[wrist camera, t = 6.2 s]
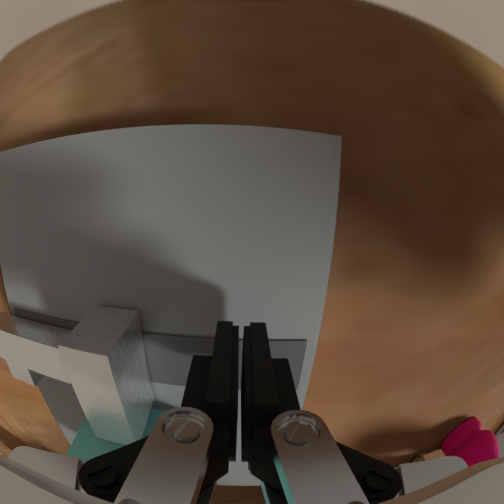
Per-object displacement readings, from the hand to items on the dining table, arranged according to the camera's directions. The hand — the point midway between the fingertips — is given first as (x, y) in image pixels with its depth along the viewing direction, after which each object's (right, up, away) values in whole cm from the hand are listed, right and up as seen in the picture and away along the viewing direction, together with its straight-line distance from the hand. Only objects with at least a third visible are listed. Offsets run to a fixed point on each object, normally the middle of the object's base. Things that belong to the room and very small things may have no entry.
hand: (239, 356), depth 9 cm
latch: (-10, -1, +1) cm, 10 cm away
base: (-5, -1, +6) cm, 8 cm away
